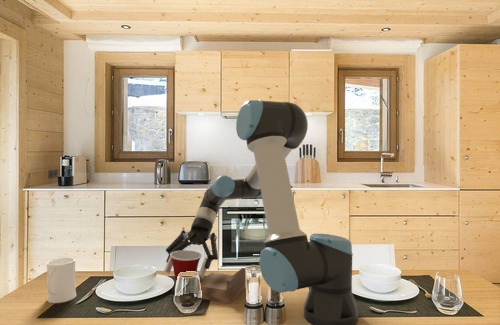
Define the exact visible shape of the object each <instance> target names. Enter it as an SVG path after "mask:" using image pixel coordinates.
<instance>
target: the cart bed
mask: <svg viewBox="0 0 500 325" xmlns="http://www.w3.org/2000/svg"><path fill="white" fill-rule="evenodd" d="M199 281H200V283H201V290H202V299H201V300H207V301H213V302H220V303H224V304H225V303H226V304H231V303H232V302H233V301H234V300H236V298H238V296H240V295H241V294H242V293H243V292H244V290H246V267H245V268H244V267H242V268H240V269H238V271H237V272H235V273H234V274H233V275H231V274H224V273H215V272H210V273H209V274H208V275H206V276H204V278H203V279H200V280H199Z"/></svg>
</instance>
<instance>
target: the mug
mask: <svg viewBox="0 0 500 325" xmlns="http://www.w3.org/2000/svg"><path fill="white" fill-rule="evenodd" d="M46 274H47V275H46V279H47V280H46V289H47V290H46V291H47V296H46V297H47V298H46V302H47V303H49V304H61V303H66V302H70V301H72V300H74V299H76V297H77V292H76V291H77V289H76V288H77V287H76V259H75V258H73V257H60V258H54V259H52V260H49V261H47V263H46Z"/></svg>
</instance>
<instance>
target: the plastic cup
mask: <svg viewBox="0 0 500 325" xmlns="http://www.w3.org/2000/svg"><path fill="white" fill-rule="evenodd" d="M170 257H171V259H172V264H173V266H172V268H173V275H174V279H175V281H176V280H177V276H178V274H179V273H180V272H186V271H196V272H198V268H199V266H198V265H199V262H200V260H201V258H202V253H200V252H197V251H195V250H185V249H183V250H182V251H175V252H172V253H170Z"/></svg>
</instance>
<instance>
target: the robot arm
mask: <svg viewBox="0 0 500 325" xmlns="http://www.w3.org/2000/svg"><path fill="white" fill-rule="evenodd" d="M235 126H236V127H235V131H236V135H237V136H238V137H237V138H239V139H241V141H246V144H247V145H246V147H247V149H248V150H249V151H250V152H252V153H253V156H254V160H255V164H254V165H253V167H252V168H251V169H250V171H249V173H248V174H247V176H246V177H245V178H241V179H237V178H236V179H233V178H232V177H231V176H228V175H220V176H218V177H217V178H216V179H215V180H214V181H213V182H212V185H209V186H208V187H207V188H206V190H205V191H204V194H203V198H202V199H201V203H200V205H199V207H198V210H197V212H196V214H195V216H194V219H193V221H192V224H191V227H190V230H189V231H185V230H184V229H183V230H181V232H180V234H179V235H178V236H177V237H176V238H175V239H174V240H173V241H172V243H170V244H169V245H168V246H167V248H166V249H165V251H166V253H167V254H168V256H167V258H166V261H165V262H166V265H165V268H164V272H165V273H166V274H167V275H169V274H170V273H171V271H172V268H173V264H172V259H171V257H170V253H172V252H175V251H182V250H185V249H186V248H188V246H189V247H190V246H191V245H194V246H195V245H197V246H201V245H202V247H203V249H204V253H205V254H206V256H205V257H204V258H203V261H202V264H201V267H200V269H199V273H198V276H199V277H200V280H202V279H203V278H205V274H206V272H207V270H209V269H210V268H211V264H212V261H217V260H218V259H219V255H218V248H217V247H218V246H217V239H218V237H217V234H216V233H215V232H212V230H213V227H214V226H213V225H214V224H215V221H216V218H217V216H218V213H219V210H220V208H221V206H222V205H223V204H224V203H225V201H229V200H241V199H257V198H261V199H262V200H261V201H262V205H263V211H264V216H265V221H266V228H267V233H268V235H267V237H266V239H265V240H264V242H263V243H264V248H263V249H262V250H261V251H260V253H259V259H258V261H259V262H258V264H259V269H260V272H261V276H262V278H263V280H264V282H265V284H267V285H268V287H269V288H270V289H272V290H273V291H274V292H277V293H280V294H281V293H287V292H295V291H297V290H301V289H306V288H309V290H308V293H307V297H306V298H305V302H304V305H303V316H304V319H305V320H306V321H307V322H309V323H311V324H312V325H356V324H358V321H359V310H358V307H357V304H356V300H355V296H354V294H353V287H352V286H353V278H352V277H353V256H354V254H353V249H352V248H353V247H352V242H351V241H350V240H349V239H348V238H346V237H343V236H341V235H340V236H339V235H335V234H328V233H311V234H310V236H309V239H308V235H307V233H306V232H304V231H303V230H301V229H300V225H299V219H298V215H297V210H296V205H295V200H294V194H293V189H292V186H291V185H292V184H291V180H290V176H289V171H288V166H287V162H286V161H287V160H286V159H287V157H288V156H289V155H290V153H291V152H292V151H293V150H296V149H297V148H299V147H300V145H302V143H303V140H304V139H305V137H306V135H307V132H308V129H309V128H308V126H309V124H308V118H307V115H306V113H305V112H304V110H303V109H302V108H301V107H300V106H299V105H297V104H295V103H292V102H289V101H288V102H287V101H285V102H284V101H271V100H262V99H258V100H257V99H249V100H246V101H245V102H244V103H243V104H242V105H241V107H240V109H239V111H238V114H237V118H236V125H235ZM208 240H210V245H211V246H210V247H211V251H210V249H209V247H208V244H207V241H208Z"/></svg>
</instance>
